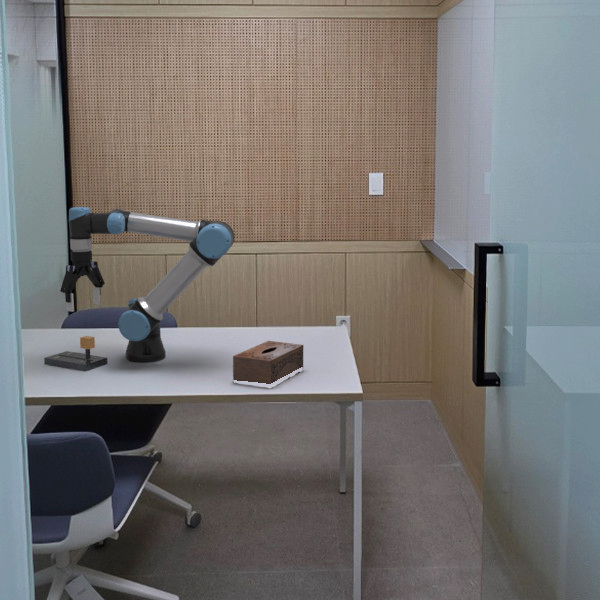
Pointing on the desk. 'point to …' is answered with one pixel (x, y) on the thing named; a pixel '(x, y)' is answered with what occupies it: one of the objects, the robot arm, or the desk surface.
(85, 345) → the dimmer fader
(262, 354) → the tissue box cover
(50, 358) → the panel
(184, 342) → the desk surface
